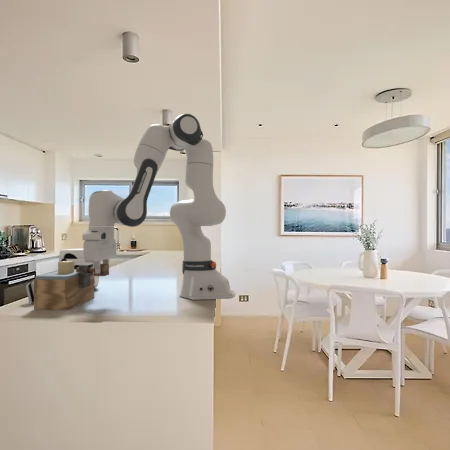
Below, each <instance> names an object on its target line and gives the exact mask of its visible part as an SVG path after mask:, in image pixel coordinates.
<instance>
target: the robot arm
mask: <svg viewBox="0 0 450 450" xmlns="http://www.w3.org/2000/svg"><path fill="white" fill-rule="evenodd" d="M203 137H204V133H203V131H202V129H201V124H200V122H199V120H198V119H197V118H196V116H195V115H192V114H191V113H183V114H179V115H178V116H177V117H175V118H174V120H173V121H172V123H171V124H170V125H169V126H163V125H162V124H158V123H156V124H151V125H150V126H149V127H147V129H146V131H145V132H144V134H143V135H142V137H141V139H140V141H139V142H138V145H137V148H136V150H135V153H134V158H133V165H134V166H135V169H136V171H137V172H136V177H135V178H134V181H133V184H132V187H131V189H130V192H129V194H128V196H126V197H125V198H124V197H121V196H119V195H117V193H114V192H113V190H110V189H102V190H97V191H94V192H92V193H91V194H90V195H89V199H88V217H89V223H88V229H87V230H86V231H85V232H83V234H82V235H81V237H82V238H81V239H82V241H83V246H82V248H83V253H84V260H85V262H93V265H94V267H95V273H96V274H99V273H101V272H102V271H101V270H102V268H101V267H100V264H109V265H110V259H114V258H116V257H117V244H116V243H117V242H116V239H115V225H116V224H118V225H122V226H125V227H130V228H133V227H138V226H140V225H141V224H143V223H144V221H145V219H147V214H148V209H147V208H148V206H147V204H148V203H147V202H148V198H149V195H150V193H151V189H152V187H153V185H154V181H155V178H156V176H157V174H158V171H160V169H161V166H162V165H163V163H164V161H165V158H166V156H167V154H168V153H167V152H168V151H169V150H172V151H177V152H180V151H185V154H186V167H185V182H184V183H185V185H186V187H188V188H189V189H190V190H192V192H193V196H194V197H193V198H194V199H193V198H192V199H183V200H180V201H177V202H174V203H173V204H172V205H171V207H170V209H169V217H170V219H171V221H172V223H173V224H175V226H176V227H177V228H178V230H179V232H180V235H181V239H182V243H183V244H182V246H183V248H182V249H183V260H182V266H181V267H182V269H181V271H182V285H181V288H180V293H179V296H180V297H182V298H185V299H189V300H194V301H195V300H196V301H197V300H198V301H199V300H201V301H202V300H203V301H204V300H228V299H229V300H230V299H233V298H235V297H236V292H235V290H233V289H231V286H230V282H229V279H228V278H227V277H226V276H225V275H223V274H222V273H221V272H220V271H218V270H217V262H216V261H214V260H212V242H211V240H210V239H209V238H208V236H205V234H204V233H203V230H202V227H212V226H217V225H220V224H222V223H223V222H224V220H225V218H226V217H227V209H226V206H225V204H224V203H223V201H221V200H220V199H219V197H218V196H217V195H216V191H215V189H214V188H215V187H214V182H213V181H214V179H213V178H214V153H213V152H214V151H213V146H212V143H211V142H210V141H209V140H207V139H203ZM101 262H102V263H101Z"/></svg>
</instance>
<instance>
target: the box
mask: <svg viewBox="0 0 450 450" xmlns="http://www.w3.org/2000/svg"><path fill="white" fill-rule="evenodd" d="M88 267H93V264H82V265H79V277H76V278H72V279H69V280H34V279H33V280H34V303H33V309H34V310H57V311H58V310H60V311H61V310H62V311H63V310H65V311H66V310H67V311H68V310H71V309H73V308H75V307H77V306H79V305H82V304H83V303H87V302H88V301H90V300H92V298H93V299H95V288H94V272H88Z"/></svg>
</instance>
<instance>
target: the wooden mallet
mask: <svg viewBox="0 0 450 450" xmlns="http://www.w3.org/2000/svg"><path fill="white" fill-rule="evenodd" d="M100 267H101V268H102V270H101V271H102V272H101V273H99V274H96V273H95V267H88V272H94V276H99V277H106V276H110V263H109V264H103V263H101V264H100ZM76 272H79V268H76Z"/></svg>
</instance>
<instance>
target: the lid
mask: <svg viewBox="0 0 450 450" xmlns="http://www.w3.org/2000/svg"><path fill="white" fill-rule="evenodd" d="M76 277H79V272H76V269H74V261H62V262H59V261H58V263H57V270H56V271H51V272H48V273H42V274H39V275H35V280H69V279H72V278H76Z"/></svg>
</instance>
